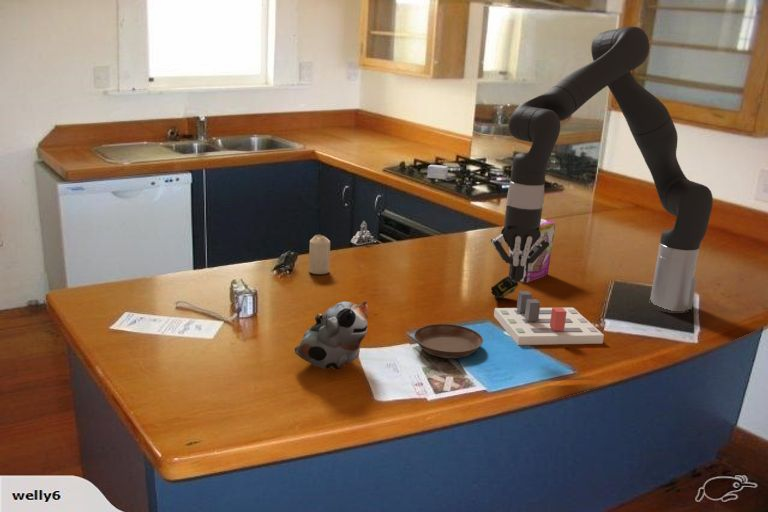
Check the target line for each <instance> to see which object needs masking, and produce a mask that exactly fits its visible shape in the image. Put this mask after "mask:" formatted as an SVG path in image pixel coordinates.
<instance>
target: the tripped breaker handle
mask: <svg viewBox="0 0 768 512" xmlns="http://www.w3.org/2000/svg"><path fill="white" fill-rule="evenodd" d="M551 308H552V314H551V321H550V327H551V328H552V329H553V330H554V331H564V327H565V320H566V313H567V312H566V311H565V310H564V309H563V308H564V307H551Z"/></svg>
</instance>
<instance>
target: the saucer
mask: <svg viewBox="0 0 768 512" xmlns="http://www.w3.org/2000/svg"><path fill="white" fill-rule="evenodd" d="M413 337H414V340H415V342H416V343H417V344H418V345H419V347H420V348H421V349H422V350H423V351H425V352H426V353H427V354H429V355H432V356H435V357H439V358H443V359H461V358H465V357H468V356H469V355H471V354H473V353H475V352H476V351H477V350H478V349H480V347H481V346H482V345H483V343H484V338H483V336H482V335H481V334H480V332H477V331H475V330H474V329H472V328H469V327H466V326H463V325H457V324H449V323H435V324H428V325H424V326H421V327H419V328H418V329H416V330H415V332H414V334H413Z"/></svg>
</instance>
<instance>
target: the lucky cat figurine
mask: <svg viewBox="0 0 768 512" xmlns="http://www.w3.org/2000/svg"><path fill="white" fill-rule="evenodd" d="M369 315H370V311H369V306H368V301H367V300H364V301H362V302H361V303H359V304H357V303H354V302H351V301H350V302H349V301H340V302H338V303H336V304H334V305H333V306H331V307H329V308H328V309H327V310H325V312H324V313H323V314H322V313H317V314H316V315H315V317H314V319H315V322H316V323H314V325H313V326H310V327H309V328H307V330H306V331H305V332H304V334H303V337H302V339H301V341H300V343H299V345H297V346H296V347H294V352H295V353H294V354H296V355H297V356H298V357H299V358H301V359H302V360H304V361H306V362H307V363H310V365H312V366H314V367H317V368H320V369H323V370H328V369H330V368H333V369H334V370H335V371H337V370H342V369H343V368H344V367H345V366H347V365H349V364H350V363H352V362H353V361H355V360H357V358H358V357H359V355H360V352H361V344H362V341H363V340H364V339H365V338H366V335H367V333H368V329H369V328H368V318H369Z"/></svg>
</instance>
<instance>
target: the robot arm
mask: <svg viewBox="0 0 768 512" xmlns="http://www.w3.org/2000/svg"><path fill="white" fill-rule="evenodd" d="M590 49H591V50H590V51H591V57H592V62H590V63H588V64H586V65H584V66H581V67H580V68H578V69H576V70H574V71H572V72H571V73H569V74H567V75H566V76H564V77H562V79H560V80H559V81H558V82H557V83H556V84H555V85H553V86H552V87H551V88H550V89H548V90H547V91H546V92H544V93H542V94H540V95H537V96H535V97H533V98H531V99H529V100H527V101H525V102H522V104H520V105H518V106H517V108H516V109H514V111H513V112H512V113H511V115H510V118H509V120H508V131H509V133H510V135H511V137H513V138H514V139H517V140H519V141H524V142H527V143H528V142H529V143H532V144H531V146H530V148H529V150H528V152H520V153H517V154H515V155H514V157H513V160H512V165H511V174H510V181H509V186H508V189H507V190H508V191H507V195H506V207H505V216H504V223H503V224H504V225H503V228H502V230H501V233H500V234H499V235H498V236H496V237H492V238H491V239H490V242H491V244H492V246H493V248H494V249H495V250H496V251H497V253H498V254H499V256H500V257H501V259H502V260H503V261H504V262H505V263H506V264H509V271H508V276H509V278H510V279H511V280H512V281H513V282H518V283H521V282H520V280H522V279H523V275H524V267H525V265H526V264H529V263H533V262H534V261H535V260H536V259H537V258H538V257H539V256H540V255H541V254H542V252H543V251H544V250H545V249H546V248H547V247H548V246H549V242H548V241H546V240H545V239H543V238H542V237H541V232H540V229H539V228H540V223H541V219H542V214H543V209H544V208H543V205H544V203H545V202H544V201H545V181H546V175H547V173H546V172H547V166H548V163H549V160H550V158H551V156H552V153H553V150H554V148H555V145H556V143H557V141H558V138H559V135H560V132H561V122H562V121H565V120H567V119H568V118H570V117H571V116H572V115H573V114H574V113H576V112H577V111H578V110H580V108H581V107H583V106H584V104H585V103H587V102H588V101H589V100H590V99H592V98H593V97H594V96H595V95H597V94H598V93H599V92H601V91H602V90H604V89H605V88H606V87H608V89H609V91H610V92H611V94H612V95H613V97H614V99H615V101H616V103H617V105H618V107H619V109H620V111H621V112H622V115H623V117H624V119H625V121H626V123H627V126H628V128H629V131H630V133H631V135H632V137H633V139H634V141H635V143H636V145H637V148H638V149H639V151H640V153H641V155H642V158H643V160H644V162H645V164H646V166H647V168H648V170H649V172H650V174H651V177H652V181H653V183H654V186H655V189H656V192H657V195H658V198H659V200H660V203H661V206H662V208H663V209H664V211H666V212H667V213H668V214H670V215H672V216H674V217H676V218H675V222H674V225H673V227H672V228H671V229H665V230H663V231H662V233H660V234H661V236H660V241H659V246H658V253H657V256H656V257H657V258H656V263H655V267H654V268H655V270H654V275H653V281H652V285H651V286H652V287H651V292H650V298H649V301H650V300H651V302H652V303H653V304H654V305H657V306H659V307H662V308H664V309H668V310H671V311H685V310H687V309H691V310H692V308H693V302H694V296H695V293H696V292H695V291H696V287H697V282H698V278H697V277H696V276H695V272H696V269H697V268H696V267H697V262H698V257H699V251H700V246H701V244H702V243H701V242H702V241H703V240H704V237H706V233H707V230H708V226H709V221H710V218H711V215H712V209H713V204H714V203H713V201H714V200H713V193H712V190H711V189H710V188H709V187H708V186H706V185H704V184H702V183H698V182H695V181H692V180H690V179H688V178H687V177H686V175H685V174H684V171H683V170H682V167H681V166H680V164H679V161H678V158H677V148H678V132H677V129H676V126H675V124H674V121H673V119H672V117H671V114H670V112H669V110H668V109H667V107H666V106H665V104H664V103H663V102H662V101H661V100H660V99H658V98H657V97H656V96H655V95H654V94H652V93H651V92H650V91H648V90H647V88H645V87H644V86H642V85H641V84H640V83H639V82H638V81H637V79H635V77H634V75H633V73H632V71H634V70H635V69H636V68H637V69H638V68H639V67H640V66H642V65H643V64H644V62H645V61H646V60H647V58H648V55H649V52H650V40H649V37H648V35H647V33H646V32H645V31H644V30H643V28H640V27H637V26H625V27H624V26H623V27H619V28H614V29H610V30H605V31H603V32H600V33H598V34H597V35H595V36H594V37H593V39H592V41H591V48H590ZM505 243H506V245H507V246H508V253H509V254H508V253H507V252H506V250H505V249H504V247H503V246H504V245H505ZM534 244H536V245H535V246H534V247H533V248H532V249H531V251H530V252H529V250H530V248H531V247H532V246H533V245H534Z"/></svg>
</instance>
